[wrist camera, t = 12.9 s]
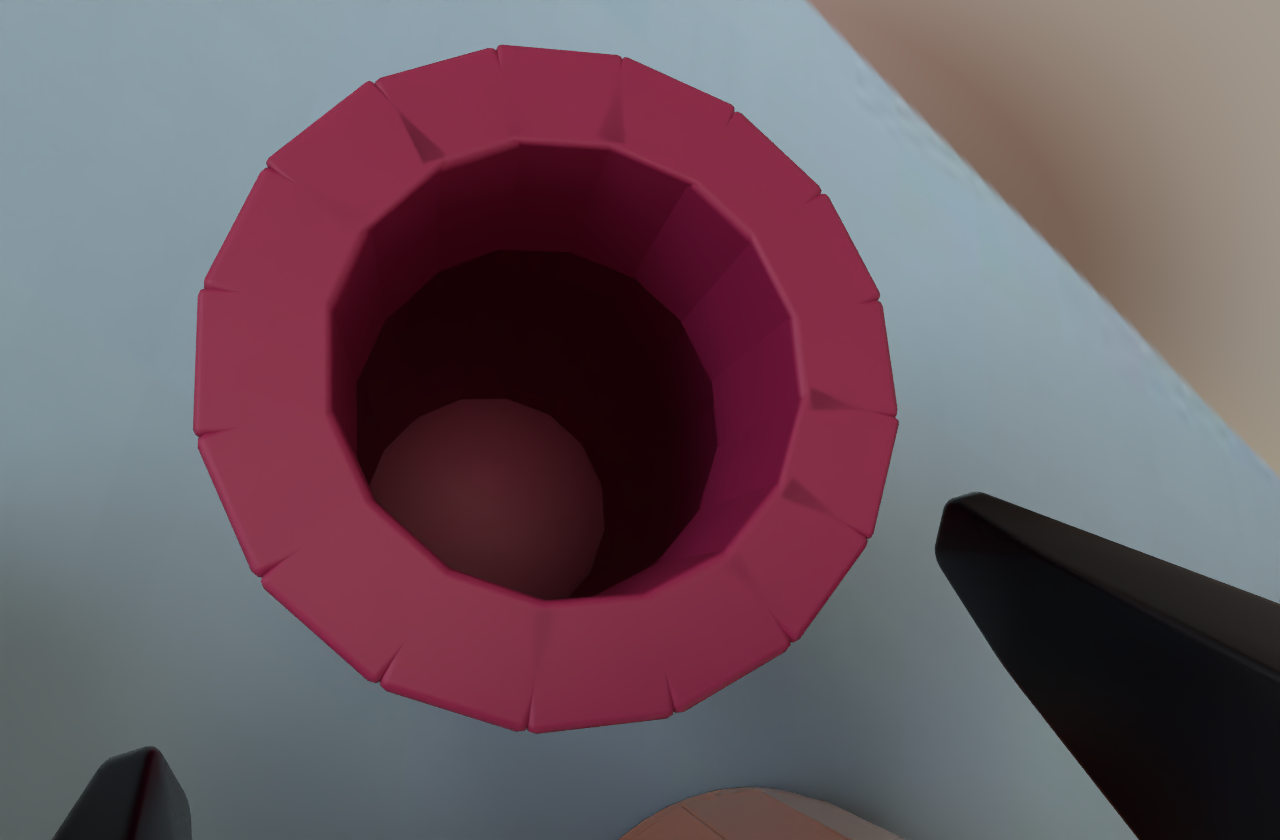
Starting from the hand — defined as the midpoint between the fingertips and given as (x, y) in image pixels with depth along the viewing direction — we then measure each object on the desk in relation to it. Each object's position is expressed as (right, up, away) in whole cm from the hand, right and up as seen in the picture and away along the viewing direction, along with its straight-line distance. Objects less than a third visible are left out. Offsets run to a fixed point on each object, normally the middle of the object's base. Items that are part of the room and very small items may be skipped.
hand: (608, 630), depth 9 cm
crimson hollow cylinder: (-3, 0, +11) cm, 11 cm away
